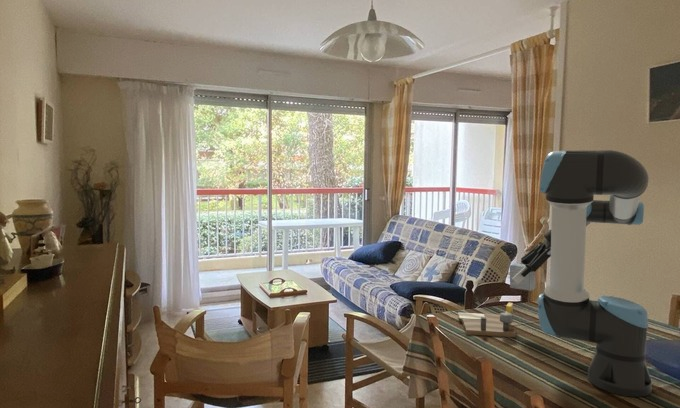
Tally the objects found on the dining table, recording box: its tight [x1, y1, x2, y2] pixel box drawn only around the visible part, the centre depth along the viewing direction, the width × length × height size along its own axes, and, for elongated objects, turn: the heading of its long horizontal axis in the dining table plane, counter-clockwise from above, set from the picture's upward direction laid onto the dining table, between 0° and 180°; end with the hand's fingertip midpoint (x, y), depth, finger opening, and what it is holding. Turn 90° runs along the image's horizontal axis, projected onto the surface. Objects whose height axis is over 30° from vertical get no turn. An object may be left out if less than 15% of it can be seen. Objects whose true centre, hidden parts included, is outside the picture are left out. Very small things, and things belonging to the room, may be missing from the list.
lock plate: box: [457, 311, 517, 338], centre depth 170 cm, size 20×18×6 cm
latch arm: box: [499, 302, 514, 326], centre depth 164 cm, size 12×4×7 cm, turn 151°
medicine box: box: [509, 263, 536, 292], centre depth 167 cm, size 8×4×9 cm, turn 45°
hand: (512, 278), depth 168 cm, fingers closed on medicine box, 8 cm apart
